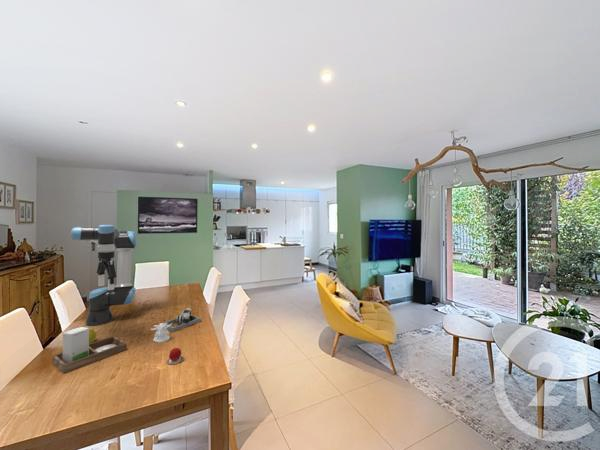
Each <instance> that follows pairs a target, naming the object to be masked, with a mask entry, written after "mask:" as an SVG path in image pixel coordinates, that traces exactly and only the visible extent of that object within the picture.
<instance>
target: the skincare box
mask: <svg viewBox="0 0 600 450" xmlns="http://www.w3.org/2000/svg"><path fill="white" fill-rule="evenodd" d="M89 329H90V328H89V327H83V326H80V327H77V328H73V329H70V330H67V331H63V332H62V352H63V358H62V361H63V362H64V363H65V364H67V363H70V362H73V361H76V360H78V359H81V358H84V357H87V356H89Z"/></svg>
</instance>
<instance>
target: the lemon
mask: <svg viewBox="0 0 600 450" xmlns="http://www.w3.org/2000/svg"><path fill="white" fill-rule="evenodd" d="M96 339H97V331H95V330H94V329H90V328H89V344H90V343H93V342H96V341H95V340H96Z"/></svg>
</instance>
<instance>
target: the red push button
mask: <svg viewBox="0 0 600 450" xmlns="http://www.w3.org/2000/svg"><path fill="white" fill-rule="evenodd" d="M183 360H185V359H184V356H183V355H182V350H181V349H180V348H179V347H174V348H172V349H171V350H170V351H169V355H168V359H167V360H166V362H165V363H166V364H168V365H175V364H179V363H181V362H183Z"/></svg>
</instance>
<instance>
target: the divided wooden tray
mask: <svg viewBox="0 0 600 450" xmlns="http://www.w3.org/2000/svg"><path fill="white" fill-rule="evenodd" d="M111 344H114V345H116V346H115V347H112V348H109V349H106V350H104V351H101V352H97V351H96V349H97V348H99V347H102V346H105V345H111ZM127 344H128V343H127V342H126V341H124V340H122V339H120V338H118V337H116V336H115V335H112V336H109V337H106V338H103V339H100V340H96V341H94V342H93V343H90V344H89V356H87V357H84V358H81V359H78V360H76V361H73V362H70V363H67V364H65V363H64V362H63V361H62V358H63V351H62V352H60V353H57V354H53V355H51V357H52V359H51V361H52V364H53V365H54V366H55V367H56V368H57V369H58V370H59V371H61V372H62V374H66V373H68V372H71V371H74V370H76V369H80V368H82V367H84V366H87V365H90V364H92V363H95V362H98V361H99V360H102V359H105V358H107V357H111V356H113V355H115V354H116V355H117V354H119V353H121V352H124V351H127V349H128V347H127V346H128V345H127Z"/></svg>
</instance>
